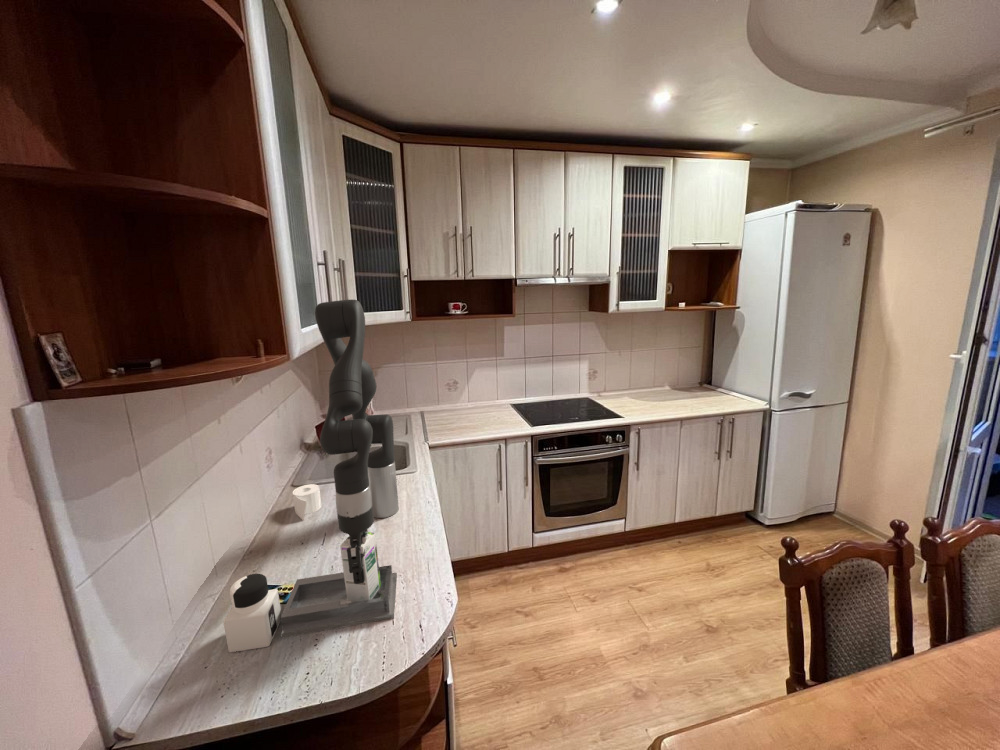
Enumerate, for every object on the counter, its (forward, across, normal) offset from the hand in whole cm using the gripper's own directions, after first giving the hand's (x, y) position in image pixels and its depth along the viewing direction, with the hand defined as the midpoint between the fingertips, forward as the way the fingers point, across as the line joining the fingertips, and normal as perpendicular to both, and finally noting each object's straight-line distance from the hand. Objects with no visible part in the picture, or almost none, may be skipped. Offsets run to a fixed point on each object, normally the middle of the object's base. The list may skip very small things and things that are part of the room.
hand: (361, 571), depth 93 cm
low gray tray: (+8, 0, -4) cm, 9 cm away
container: (+8, +5, -21) cm, 23 cm away
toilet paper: (+8, -48, -24) cm, 54 cm away
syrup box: (+6, 0, 0) cm, 6 cm away
